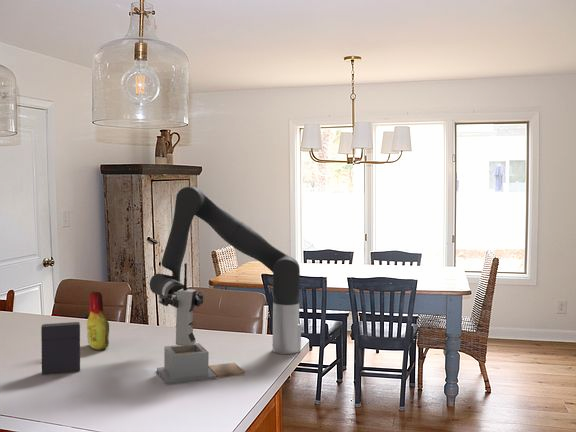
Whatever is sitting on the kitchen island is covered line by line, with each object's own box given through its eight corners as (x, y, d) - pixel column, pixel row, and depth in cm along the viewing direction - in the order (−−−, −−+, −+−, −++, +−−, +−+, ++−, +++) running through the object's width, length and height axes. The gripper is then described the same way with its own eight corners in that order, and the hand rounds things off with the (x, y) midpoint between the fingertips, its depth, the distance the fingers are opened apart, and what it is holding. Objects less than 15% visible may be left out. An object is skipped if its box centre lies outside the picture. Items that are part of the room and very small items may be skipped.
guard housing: (203, 365, 186) (203, 341, 186) (216, 379, 174) (216, 352, 173) (156, 371, 180) (157, 345, 180) (166, 385, 168) (166, 358, 167)
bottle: (82, 345, 208) (82, 290, 207) (99, 342, 212) (99, 288, 211) (94, 352, 199) (94, 295, 198) (112, 349, 203) (112, 293, 202)
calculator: (79, 368, 182) (79, 321, 182) (80, 372, 178) (80, 324, 178) (42, 371, 178) (41, 323, 178) (41, 375, 174) (41, 326, 174)
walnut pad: (234, 364, 188) (234, 362, 188) (244, 374, 178) (244, 371, 178) (207, 368, 184) (207, 365, 184) (216, 377, 175) (216, 375, 175)
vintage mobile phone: (191, 346, 174) (193, 264, 173) (175, 345, 175) (177, 263, 174) (195, 343, 178) (197, 262, 177) (180, 341, 179) (182, 261, 178)
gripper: (153, 283, 186) (164, 292, 171) (197, 281, 192) (211, 290, 176) (153, 306, 186) (164, 317, 171) (196, 303, 192) (211, 314, 177)
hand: (188, 303), depth 174 cm, fingers closed on vintage mobile phone, 6 cm apart
